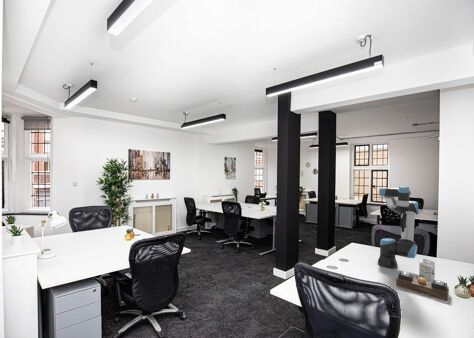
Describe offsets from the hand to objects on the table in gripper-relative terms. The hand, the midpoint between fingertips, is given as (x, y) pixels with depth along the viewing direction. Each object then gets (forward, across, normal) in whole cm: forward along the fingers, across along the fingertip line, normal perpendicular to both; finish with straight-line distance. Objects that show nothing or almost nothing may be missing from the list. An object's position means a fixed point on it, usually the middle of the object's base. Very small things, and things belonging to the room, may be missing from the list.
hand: (403, 235), depth 191 cm
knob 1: (+27, -16, -5) cm, 32 cm away
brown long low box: (+32, -16, -14) cm, 39 cm away
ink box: (+33, +9, -14) cm, 37 cm away
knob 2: (+27, -16, -24) cm, 39 cm away
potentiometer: (+27, -16, -14) cm, 35 cm away
